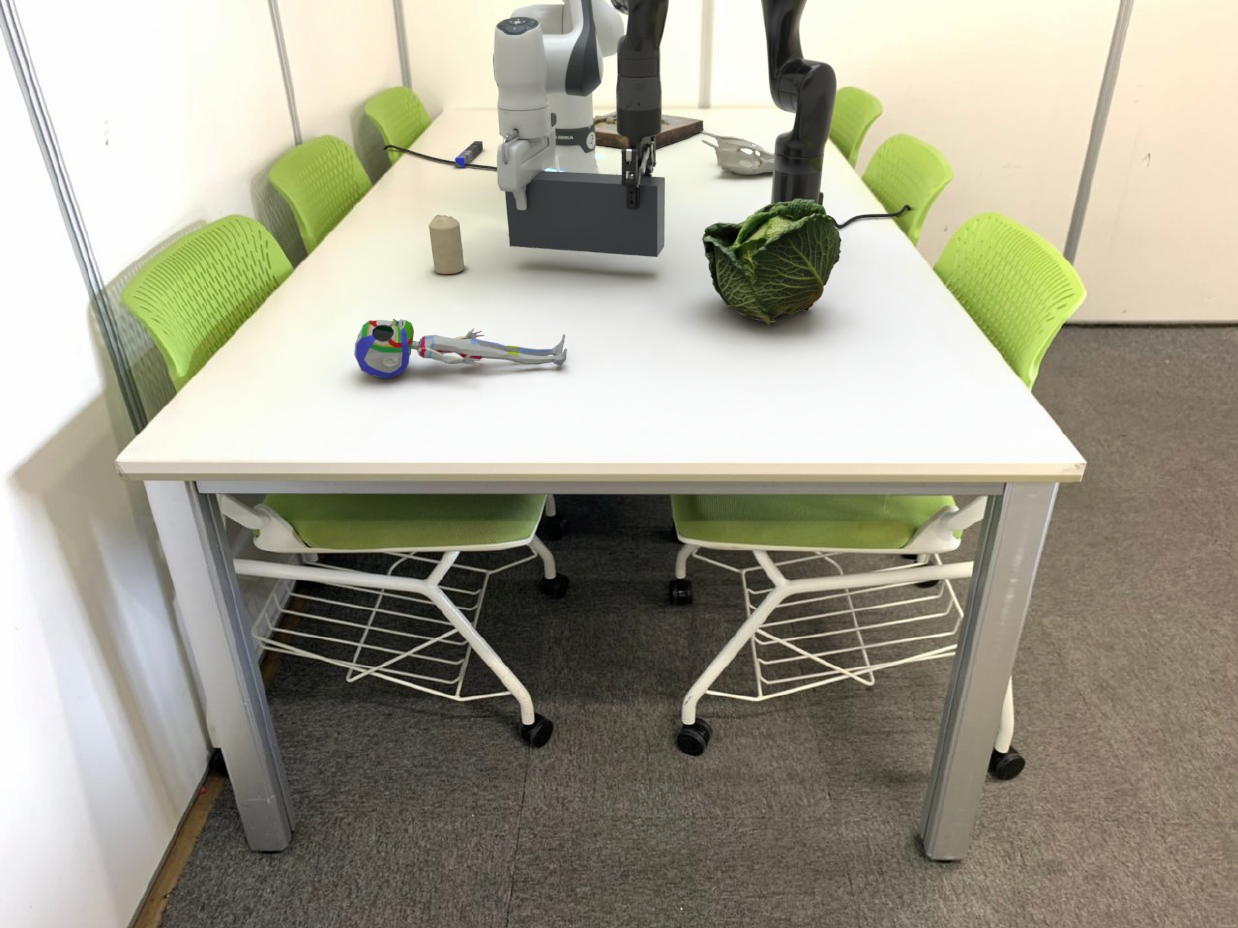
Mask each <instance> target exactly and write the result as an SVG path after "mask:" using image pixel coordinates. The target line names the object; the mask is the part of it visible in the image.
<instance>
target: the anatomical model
mask: <svg viewBox="0 0 1238 928" xmlns="http://www.w3.org/2000/svg"><path fill="white" fill-rule="evenodd" d="M702 135H704V136H708V137H711V138H714V139H715V140H716V142H717V145H715V144H713V143H712V142H709V141H708V140H705V139H701V142H702V143H703V144H706V145H708V146H709V147H711V148H713V149H714V152H715V155H716V160H717V164H716V165H717V166H721V167H722V170H724V171H727V172H729V171H730V172H733V173H735V174H736V175H744V176H747V175H750V176H751V175H752V176H753V175H759V174H763V173H773V165H774V152H770V151H766V149H764V148H763V147H762V146H761V145H759V144H757V143H755V142H752V141H749V140H748V139H744V138H739V137H736V136H730V135H729V136H727V135H726V136H725V135H719V134H715V133H711V132H707V131H702ZM743 149H747V150H751V151H752V152H751V153H748V152H747V153H746V152H745V151H743ZM756 152H758V153H759V155H758V154H756Z"/></svg>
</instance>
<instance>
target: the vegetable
mask: <svg viewBox="0 0 1238 928" xmlns="http://www.w3.org/2000/svg"><path fill="white" fill-rule="evenodd" d="M827 215H828V214H827V211H826V208H825V206H824V205H823V206H821V205H819V204H816V203H815V200H802V199H801V198H800V199H794V200H793V201H791V202H778V203H774V204H771V203H769V204H767V205H765V206H764V207H761V208H760V209H758V210H756V211H755V212H754V213H753V214H751V215H748V216H747V217H746V219H745V220H744V221H741V222H739V223H732V222H722V221H721V222H720V221H719V222H716V223H712V224H710V225H708V226H707V227H705V229H704V234H703V235H702V238H701V241H702V243H703V248H704V257H705V258H706V259H707V261H708V265H707V267H708V271H709V273H710V275H709V276H710V278H711V280H712V286H713V288H714V290H715V292H717V294H718V295H719V296H720V298H721V300H723V303H725V304H726V305H727V306H728V307H732V308H733V309H734V310H735V312H736V313H738V314H739V315H742V316H743V317H745V318H747V319H751V320H755V321H762V322H764V323H765V324H766V325H768V326H770V324H771V323H777V322H776V320H775V319H774V318H777V317H778V316H779V315H782V314H789V315H793V316H795V315H796V314H797V313H798V312H808V311H809V310H810V309H811V308H813V306H814V305H815V303H816V302H818V301H819V300H820V299H821V298H822V296H823V294H824V290H825V286H826V285H827V284H828V282H829V279H830V276H831V272H832V270H833V269H834V266H836V264H837V263H839V262H840V259H841V256H840V254H841V252H842V250H841V249H840V248H841V244H842V243H841V242H842V241H843V240H842V238H841V236H840V231H839V230H838V228H836V227H835V226H834V221H833V220H832V219H831V218H828V217H827Z"/></svg>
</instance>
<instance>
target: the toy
mask: <svg viewBox="0 0 1238 928" xmlns="http://www.w3.org/2000/svg"><path fill="white" fill-rule="evenodd" d="M474 331H475V328H472V329H471V330H469V331H468V332H467V333H466V334H465V335H463V336H458V337H449V336H448V337H447V336H442V335H439V334H428V335H423V336H421V338H420V339H419V341H417V340H414V336H415V329H414V326H413V324H412V322H410V321H408V320H407V319H399V320H397V319H395V318H392V320H387V319H379V320H368V321H367V322H365V323H364V324H362V326H361V329H360V331H359V333H358V334H357V338H356V340H355V342H354V354H353V355H354V357H355V359H356V362H357V364H358V366H359V369H360V370H361V372H364V373H366V374H367V375H370V376H373V377H377V378H382V379H383V378H384V379H392V378H394V377H396V376H398V375H400V374H401V375H402V374H403V372H404V371H405V370H406V368H407V367H408V366H409V364H410V357H411V355H412V350H415V351H417V353H418V356H419V357H421V358H422V359H430V360H434V361H438V362H442V363H444V364H449V365H458V364H459V365H461V364H465V365H471V366H477V367H479V368H480V367H481V366H482V365H483V363H482V362H478V361H480V360H482V359H487V360H488V359H489V360H503V361H509V362H514V363H517V364H520V365H528V366H529V365H542V364H550V363H553V364H555V365H557V366H559V367H562V366H563V364H564V362H565V361H566V360H567V357H568V355H567V353H568V348H566V347H565V348H564V345H565V340H566V334H565V333H563V334H562V338H561V340H560V341H559V343H558V344H556V345H555V346H554V347H552V348H533V347H532V348H531V347H523V346H518V345H517V346H516V345H504V344H501V343H498V342H494V341H488V340H482V339H478V338H479V337H480V338H481V337H485V334H480V333H482V332H483V331H482V330H479V331H476V332H474ZM563 349H564V350H563ZM453 353H455V354H457V355H459V357H458V356H455V355H448V354H453ZM445 354H447V355H445Z"/></svg>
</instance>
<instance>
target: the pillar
mask: <svg viewBox="0 0 1238 928" xmlns="http://www.w3.org/2000/svg"><path fill="white" fill-rule="evenodd" d="M483 150H484V145H483V141H482V140H474V141H473V142H471V144H470V145H468V146H467V147H466V148H465V149H463V151H462V152H461V153H460V154H458V155H457V156H456V157H455V158H454V161H455V164H454V165H455V168H457V169H458V168H465V167H466V166H465V163H468V164H470V163H471V162H472V160H474V159H475V158H476V157H477V156H478V155H479V154H480V153H481V152H482V151H483Z"/></svg>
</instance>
